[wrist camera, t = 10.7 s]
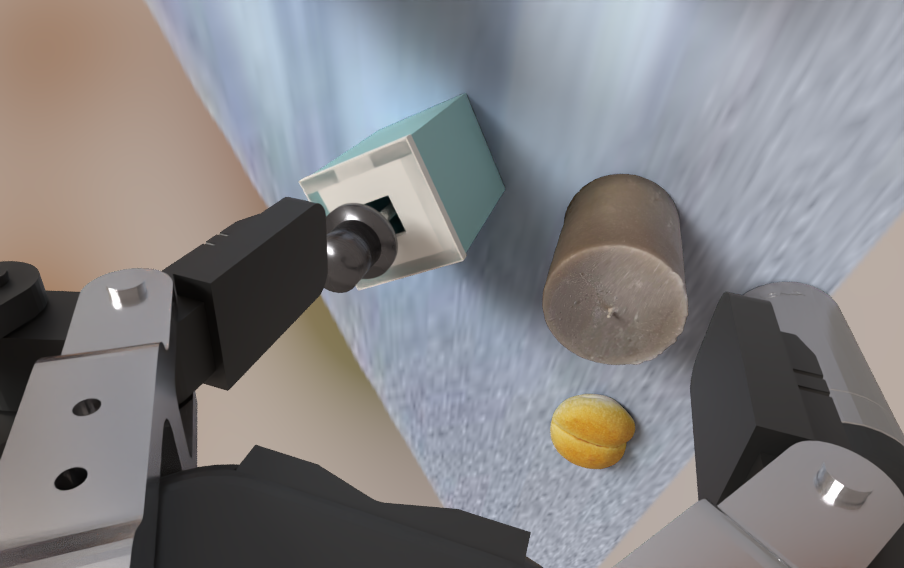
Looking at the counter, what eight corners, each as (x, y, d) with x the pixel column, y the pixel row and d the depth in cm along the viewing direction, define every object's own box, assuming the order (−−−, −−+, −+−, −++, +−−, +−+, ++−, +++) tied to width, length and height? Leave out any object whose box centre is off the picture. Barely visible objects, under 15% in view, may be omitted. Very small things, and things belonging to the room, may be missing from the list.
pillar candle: (542, 216, 52) (508, 304, 40) (633, 148, 46) (626, 225, 34) (610, 292, 54) (597, 399, 41) (705, 235, 48) (723, 337, 36)
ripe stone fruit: (644, 404, 59) (644, 432, 56) (615, 461, 64) (613, 489, 60) (566, 378, 60) (561, 403, 57) (543, 435, 65) (537, 462, 62)
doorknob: (474, 192, 49) (395, 298, 34) (415, 212, 52) (318, 319, 37) (445, 125, 47) (348, 209, 32) (385, 150, 49) (270, 237, 35)
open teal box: (506, 189, 52) (463, 260, 40) (401, 224, 57) (335, 296, 45) (466, 91, 48) (406, 137, 37) (358, 137, 53) (275, 190, 42)
